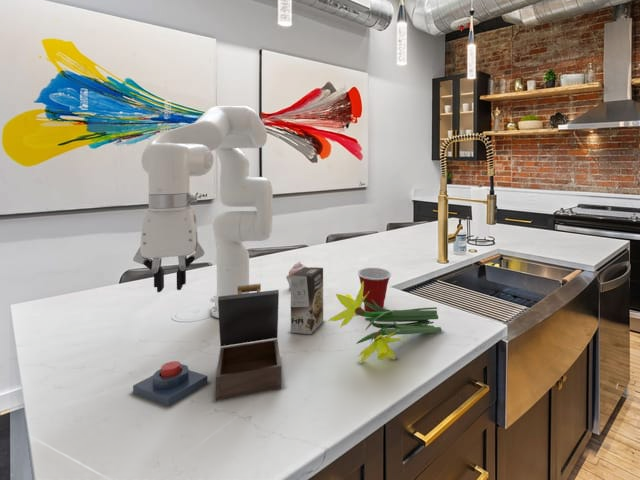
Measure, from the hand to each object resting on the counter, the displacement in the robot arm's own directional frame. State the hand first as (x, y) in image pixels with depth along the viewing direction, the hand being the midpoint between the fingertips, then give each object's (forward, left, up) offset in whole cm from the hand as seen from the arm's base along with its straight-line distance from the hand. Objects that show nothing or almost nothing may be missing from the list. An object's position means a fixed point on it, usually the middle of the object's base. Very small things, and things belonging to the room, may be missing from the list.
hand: (170, 288), depth 85 cm
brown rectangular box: (+12, +10, -21) cm, 26 cm away
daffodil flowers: (+35, +36, -21) cm, 55 cm away
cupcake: (-17, +63, -21) cm, 69 cm away
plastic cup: (+18, +57, -21) cm, 63 cm away
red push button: (0, 0, -18) cm, 18 cm away
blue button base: (0, 0, -21) cm, 21 cm away
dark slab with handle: (+10, +12, -10) cm, 18 cm away
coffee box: (+7, +37, -21) cm, 43 cm away
